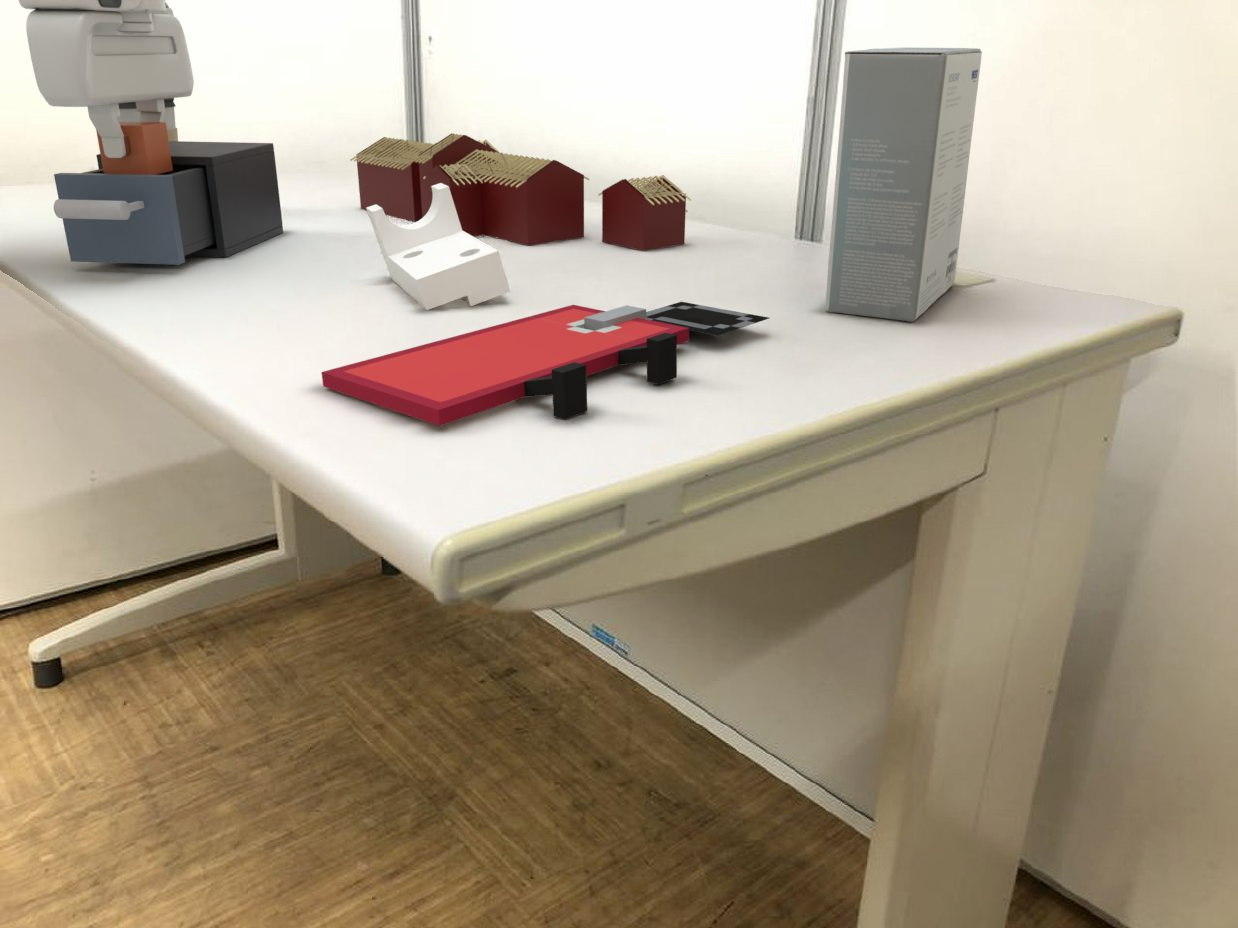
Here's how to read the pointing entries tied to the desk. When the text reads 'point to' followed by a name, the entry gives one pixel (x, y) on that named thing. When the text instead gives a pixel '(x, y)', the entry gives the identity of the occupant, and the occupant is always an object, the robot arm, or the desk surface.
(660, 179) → the toy houses
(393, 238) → the bracket
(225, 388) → the desk surface
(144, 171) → the block
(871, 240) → the hard drive box
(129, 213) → the drawer
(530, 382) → the red board with handle
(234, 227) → the cabinet
